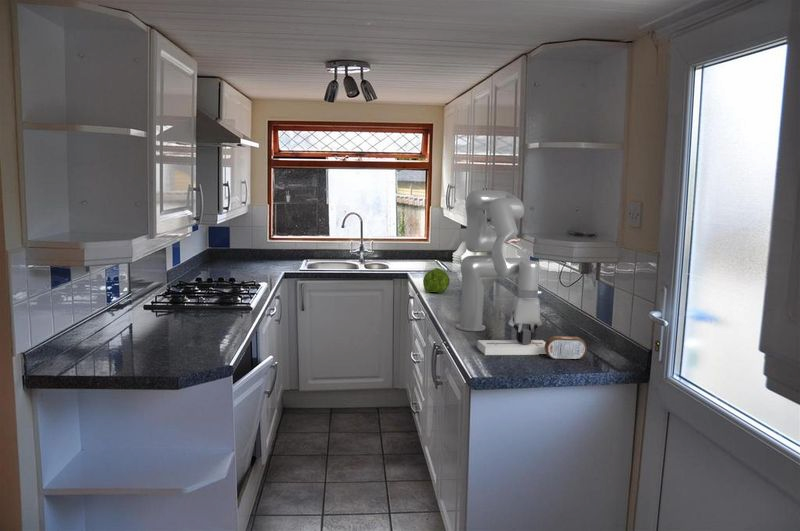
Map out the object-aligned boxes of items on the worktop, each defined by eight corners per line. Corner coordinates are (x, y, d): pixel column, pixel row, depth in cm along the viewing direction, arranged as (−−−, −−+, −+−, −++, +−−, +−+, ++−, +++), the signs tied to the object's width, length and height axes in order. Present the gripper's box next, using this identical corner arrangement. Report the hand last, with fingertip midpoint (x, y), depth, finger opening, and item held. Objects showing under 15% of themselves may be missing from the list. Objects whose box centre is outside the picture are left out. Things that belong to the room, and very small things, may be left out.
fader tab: (517, 340, 247) (518, 327, 246) (525, 340, 247) (526, 327, 247) (522, 344, 242) (523, 331, 241) (530, 344, 243) (531, 331, 242)
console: (477, 347, 247) (477, 339, 247) (541, 347, 252) (542, 339, 251) (485, 355, 237) (485, 346, 237) (552, 354, 242) (552, 346, 242)
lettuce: (424, 288, 384) (449, 292, 383) (420, 292, 360) (447, 296, 358) (428, 264, 383) (453, 268, 382) (424, 266, 359) (451, 270, 358)
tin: (584, 358, 238) (585, 336, 237) (586, 361, 235) (588, 338, 234) (543, 357, 238) (545, 335, 237) (545, 359, 235) (547, 337, 234)
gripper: (544, 292, 247) (540, 339, 250) (503, 291, 245) (500, 339, 247) (552, 296, 240) (548, 344, 242) (509, 295, 237) (506, 344, 240)
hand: (524, 341), depth 245 cm, fingers closed on fader tab, 3 cm apart
